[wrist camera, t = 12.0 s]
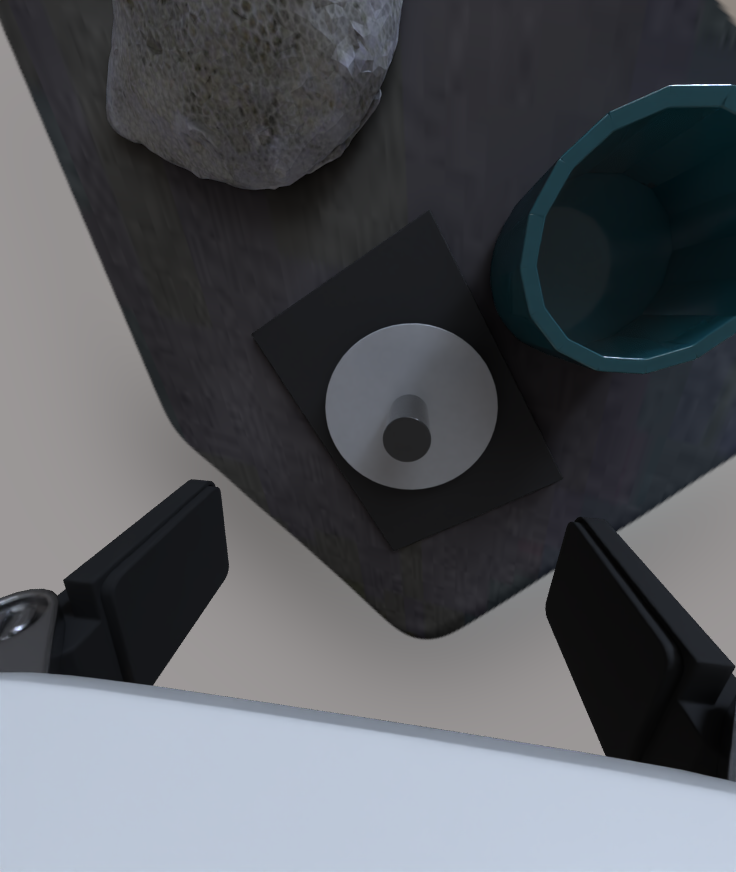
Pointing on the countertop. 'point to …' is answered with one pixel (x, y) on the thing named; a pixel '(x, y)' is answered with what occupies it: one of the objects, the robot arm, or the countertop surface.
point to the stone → (248, 82)
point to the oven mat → (397, 304)
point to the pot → (629, 238)
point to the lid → (411, 406)
